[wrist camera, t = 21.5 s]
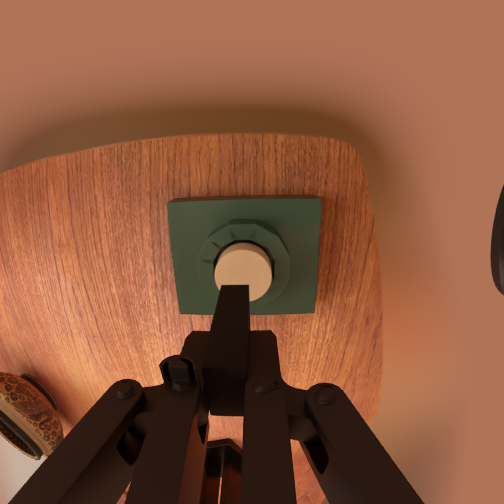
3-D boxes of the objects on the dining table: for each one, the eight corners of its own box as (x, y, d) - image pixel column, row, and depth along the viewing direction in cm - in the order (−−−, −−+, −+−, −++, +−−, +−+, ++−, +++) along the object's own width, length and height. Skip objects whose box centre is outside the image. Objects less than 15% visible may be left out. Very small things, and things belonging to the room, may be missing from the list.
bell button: (270, 241, 20) (272, 249, 18) (270, 291, 21) (271, 302, 19) (216, 242, 20) (212, 250, 18) (219, 291, 21) (216, 302, 20)
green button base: (315, 195, 22) (327, 201, 18) (310, 301, 25) (318, 324, 22) (174, 198, 22) (159, 205, 19) (185, 302, 26) (175, 325, 22)
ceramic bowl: (95, 429, 39) (86, 486, 25) (37, 425, 36) (22, 472, 22) (36, 333, 32) (-2, 391, 18) (-20, 338, 28) (-56, 382, 14)
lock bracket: (262, 467, 36) (262, 535, 22) (218, 473, 38) (211, 536, 23) (229, 438, 33) (222, 523, 19) (180, 444, 34) (164, 519, 20)
